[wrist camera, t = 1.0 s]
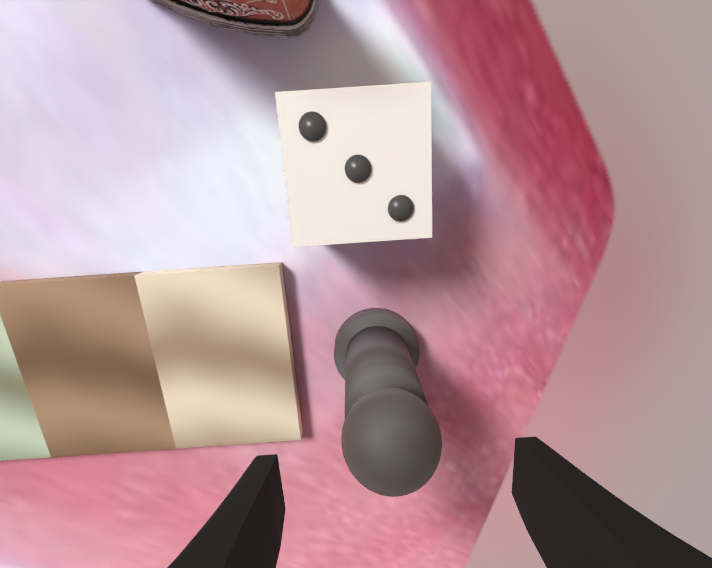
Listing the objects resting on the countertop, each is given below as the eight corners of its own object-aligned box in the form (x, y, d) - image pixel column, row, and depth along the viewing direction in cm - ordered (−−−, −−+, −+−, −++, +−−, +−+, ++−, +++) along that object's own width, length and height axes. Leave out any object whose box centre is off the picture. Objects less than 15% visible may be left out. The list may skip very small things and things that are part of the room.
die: (409, 223, 17) (432, 237, 12) (308, 230, 17) (292, 247, 12) (406, 113, 16) (431, 80, 11) (297, 120, 16) (274, 91, 11)
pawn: (416, 379, 20) (469, 530, 11) (338, 384, 20) (329, 540, 11) (414, 305, 18) (472, 408, 10) (331, 311, 18) (316, 419, 10)
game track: (302, 430, 20) (300, 439, 20) (-59, 455, 20) (-75, 465, 20) (281, 262, 18) (278, 265, 17) (-134, 290, 18) (-156, 295, 17)
